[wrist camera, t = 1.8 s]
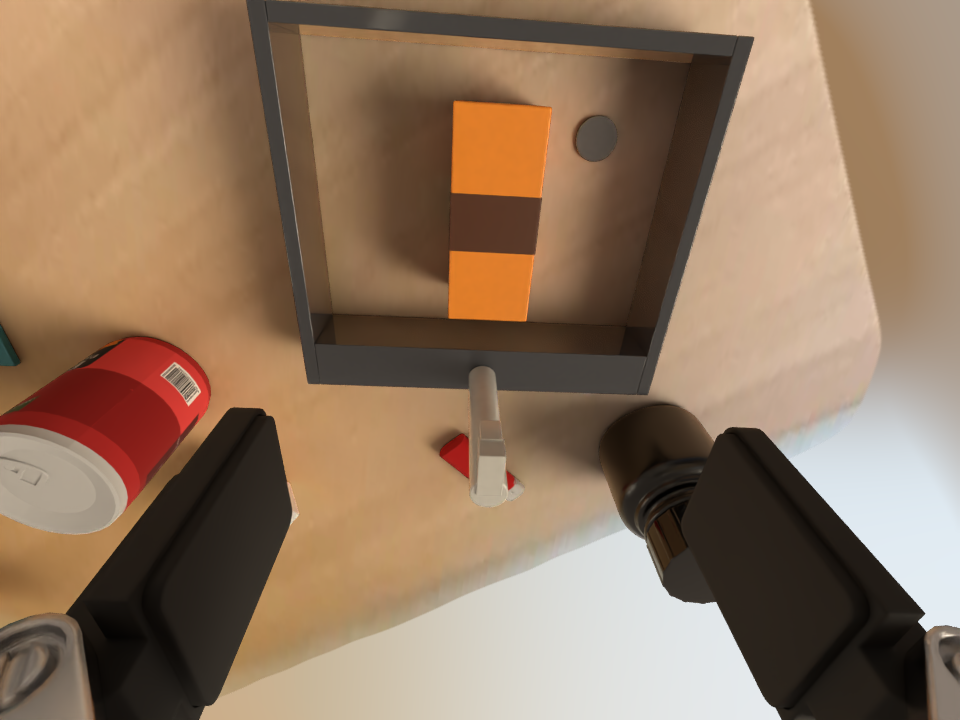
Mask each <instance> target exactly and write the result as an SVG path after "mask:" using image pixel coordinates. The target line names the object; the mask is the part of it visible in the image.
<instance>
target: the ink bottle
mask: <svg viewBox="0 0 960 720" xmlns="http://www.w3.org/2000/svg"><path fill="white" fill-rule="evenodd" d="M713 445H714V441H713V439H712V438H711V437H710V435H709V434H708V432H707V431H706V430H705V428H704V427H703V426H702V424H701V423H700V422H699V420H698V419H697V418H696V417H695V416H694V415H693V414H691V413H690V412H688V411H687V410H685V409H683V408H680V407H677V406H672V405H656V406H650V407H646V408H642V409H639V410H636V411H634V412H632V413H629V414H627V415H626V416H624V417H622V418H621V419H619V420H618V421H617V422H615V423H614V424H613V425H612V426H611V427H610V428H609V429H608V430H607V431H606V433H605V434H604V436H603V438H602V440H601V443H600V448H599V458H600V463H601V466H602V469H603V472H604V474H605V477H606V480H607V482H608V485H609V488H610V491H611V493H612V496H613V499H614V501H615V504H616V507H617V510H618V512H619V515H620V517H621V519H622V521H623V522H624V524H625V525H626V527H627V528H628V529H629V530H630V531H632V532H633V533H634V534H635V535H637V536H638V537H640V538H642V539H644V540H645V541H646V543H647V548H648V550H649V553H650V556H651V558H652V561H653V563H654V565H655V568H656V570H657V573H658V575H659V577H660V580H661V583H662V585H663V587H665V589H666V590H667V591H668V593H669V595H670V596H673V597H676V598H678V599H680V600H682V601H683V602H693V603H701V604H705V603H710V602H716V600H715V598H714V596H713V594H712V592H711V590H710V588H709V586H708V584H707V582H706V580H705V578H704V576H703V574H702V572H701V570H700V568H699V566H698V564H697V562H696V560H695V558H694V556H693V554H692V552H691V550H690V548H689V546H688V544H687V542H686V540H685V538H684V536H683V533H682V528H681V521H682V517H683V515H684V513H685V510H686V508H687V505H688V503H689V501H690V498H691V496H692V494H693V491H694V489H695V487H696V484H697V482H698V480H699V477H700V475H701V473H702V470H703V468H704V466H705V463H706V461H707V459H708V456H709V454H710V452H711V449H712V447H713Z"/></svg>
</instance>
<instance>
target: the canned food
mask: <svg viewBox="0 0 960 720" xmlns="http://www.w3.org/2000/svg"><path fill="white" fill-rule="evenodd" d="M210 396H211V389H210V384H209V381H208V378H207V376H206V374H205V373H204V371H203V370H202V368H201V367H200V366H199V364H198V363H197V362H196V361H195V360H194V359H192V358H191V357H190V356H189V355H188V354H186V353H185V352H184V351H182V350H181V349H179V348H177V347H175V346H173V345H171V344H169V343H166V342H164V341H161V340H158V339H153V338H149V337H130V338H125V339H121V340H117V341H114V342H111V343H108V344H107V345H105V346H104V347H102V348H101V349H99V350H98V351H96V352H95V353H93V354H92V355H90V356H89V357H87V358H86V359H84V360H83V361H81V362H80V363H78V364H77V365H75V366H74V367H72V368H71V369H69V370H68V371H67V372H65V373H64V374H62V375H61V376H59V377H58V378H56V379H55V380H53V381H52V382H50V383H49V384H47V385H46V386H44V387H43V388H41V389H40V390H38V391H37V392H35V393H34V394H33V395H31V396H30V397H28V398H27V399H25V400H24V401H22V402H21V403H19V404H18V405H16V406H15V407H13V408H12V409H10V410H9V411H7V412H6V413H4V414H3V415H1V416H0V513H1V514H2V515H4V516H6V517H8V518H10V519H13V520H15V521H17V522H19V523H22V524H25V525H27V526H30V527H33V528H37V529H40V530H44V531H48V532H55V533H61V534H86V533H92V532H96V531H100V530H102V529H104V528H106V527H108V526H109V525H111V524H112V523H113V522H114V521H115V520H116V519H117V518H118V517H119V516H120V515H121V514H122V513H123V512H124V511H125V510H126V509H127V507H128V506H129V505H130V504H131V503H132V502H133V500H134V499H135V498H136V497H137V496H138V495H139V493H140V492H141V491H142V490H143V489H144V487H145V486H146V485H147V484H148V482H149V481H150V480H151V479H152V477H153V476H154V475H155V474H156V473H157V471H158V470H159V469H160V468H161V466H162V465H163V464H164V463H165V462H166V460H167V459H168V458H169V457H170V455H171V454H172V453H173V452H174V451H175V449H176V448H177V447H178V446H179V444H180V443H181V442H182V441H183V440H184V438H185V437H186V436H187V435H188V433H189V432H190V431H191V430H192V429H193V427H194V426H195V425H196V424H197V422H198V421H199V420H200V419H201V418H202V416H203V415H204V413H205V412H206V410H207V408H208V404H209V400H210Z"/></svg>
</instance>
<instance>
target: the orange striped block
mask: <svg viewBox="0 0 960 720" xmlns="http://www.w3.org/2000/svg"><path fill="white" fill-rule="evenodd" d="M551 114H552V108H551V107H545V106H536V105H521V104H507V103H492V102H477V101H462V100H456V101H454V102H453V128H452V169H451V192H450V227H449V292H448V318H450V319H474V320H499V321H523V322H525V321H526V320H527V311H528V303H529V295H530V287H531V278H532V270H533V262H534V255H535V251H536V243H537V235H538V227H539V219H540V210H541V202H542V198H541V196H542V188H543V180H544V171H545V163H546V155H547V147H548V138H549V130H550V122H551Z"/></svg>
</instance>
